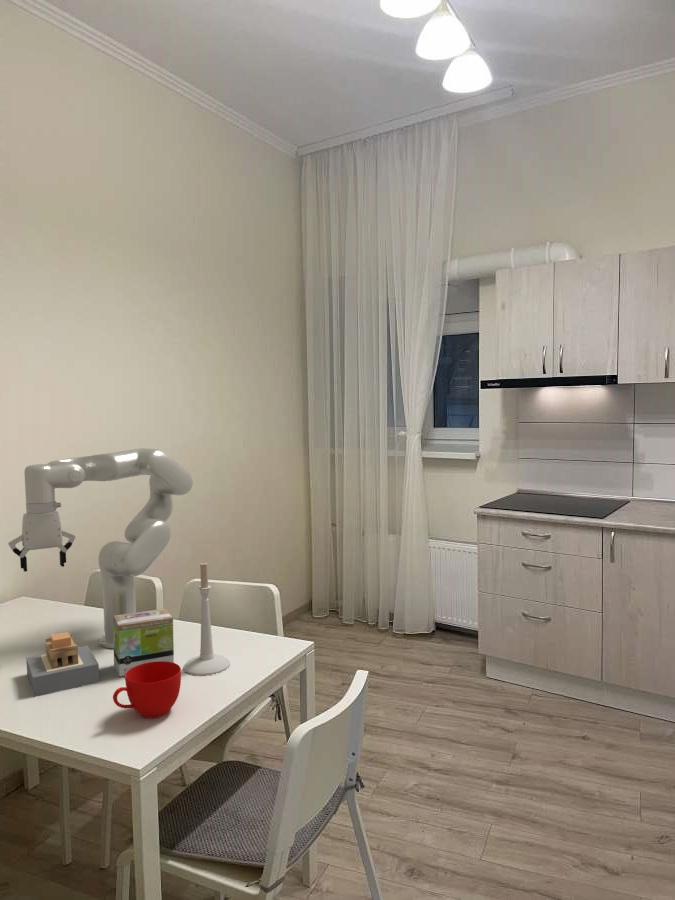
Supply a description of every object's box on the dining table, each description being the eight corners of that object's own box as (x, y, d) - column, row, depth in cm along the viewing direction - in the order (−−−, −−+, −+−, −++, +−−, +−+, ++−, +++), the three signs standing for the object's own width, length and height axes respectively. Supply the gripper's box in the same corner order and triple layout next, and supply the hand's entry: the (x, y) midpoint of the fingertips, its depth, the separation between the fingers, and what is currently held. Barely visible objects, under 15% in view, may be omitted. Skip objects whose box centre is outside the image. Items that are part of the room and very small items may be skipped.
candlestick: (184, 678, 176) (181, 569, 174) (183, 660, 189) (179, 558, 186) (232, 672, 180) (229, 565, 178) (227, 655, 192) (224, 555, 190)
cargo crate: (68, 640, 180) (67, 631, 180) (71, 646, 176) (70, 637, 176) (50, 644, 178) (50, 634, 178) (53, 650, 174) (53, 640, 173)
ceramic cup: (100, 719, 154) (98, 678, 153) (162, 695, 166) (161, 656, 166) (130, 737, 145) (128, 694, 144) (193, 710, 158) (191, 670, 157)
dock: (88, 662, 188) (87, 644, 188) (99, 682, 175) (98, 663, 174) (27, 674, 180) (26, 656, 180) (33, 696, 167) (32, 676, 166)
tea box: (119, 678, 177) (117, 625, 176) (113, 665, 186) (111, 614, 185) (175, 667, 184) (173, 616, 183) (166, 655, 193) (165, 606, 192)
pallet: (71, 650, 184) (70, 633, 183) (78, 663, 174) (77, 645, 174) (46, 655, 180) (45, 638, 180) (51, 669, 171) (50, 650, 171)
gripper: (71, 503, 191) (74, 561, 192) (5, 509, 182) (8, 569, 184) (75, 507, 185) (78, 566, 186) (7, 513, 176) (11, 575, 177)
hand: (43, 568), depth 185 cm, fingers open, 9 cm apart
